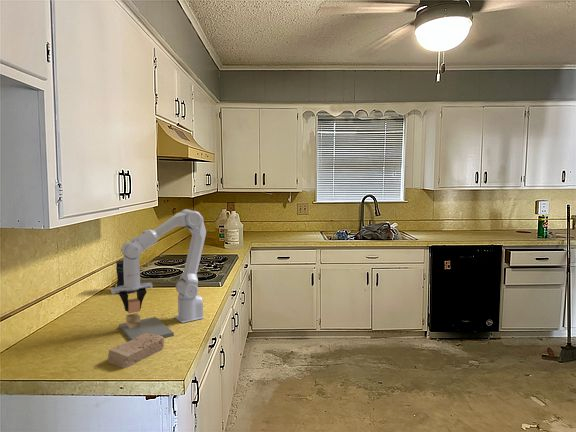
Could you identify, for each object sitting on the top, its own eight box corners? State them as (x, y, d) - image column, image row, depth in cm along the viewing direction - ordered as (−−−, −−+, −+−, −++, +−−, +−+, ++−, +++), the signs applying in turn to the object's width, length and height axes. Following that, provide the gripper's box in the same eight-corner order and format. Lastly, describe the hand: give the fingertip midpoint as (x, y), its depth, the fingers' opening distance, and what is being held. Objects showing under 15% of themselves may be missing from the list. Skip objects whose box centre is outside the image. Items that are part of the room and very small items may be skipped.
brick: (125, 369, 125) (125, 354, 124) (106, 363, 129) (105, 348, 128) (165, 349, 139) (165, 336, 139) (147, 344, 143) (146, 331, 143)
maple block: (137, 323, 159) (137, 313, 159) (140, 326, 156) (140, 315, 155) (126, 325, 157) (126, 315, 156) (129, 328, 154) (129, 318, 153)
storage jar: (141, 291, 206) (140, 261, 204) (121, 295, 199) (120, 264, 198) (133, 287, 213) (132, 258, 212) (113, 290, 206) (112, 261, 205)
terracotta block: (136, 308, 158) (136, 298, 158) (140, 311, 155) (139, 300, 155) (126, 310, 156) (125, 300, 156) (129, 313, 153) (128, 302, 152)
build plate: (155, 319, 166) (155, 316, 166) (173, 335, 150) (173, 332, 150) (119, 327, 158) (118, 324, 158) (134, 344, 142) (133, 341, 142)
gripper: (113, 278, 147) (115, 316, 148) (154, 273, 155) (155, 308, 157) (109, 274, 153) (110, 310, 154) (148, 269, 161) (149, 303, 162)
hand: (132, 309), depth 156 cm, fingers closed on terracotta block, 4 cm apart
